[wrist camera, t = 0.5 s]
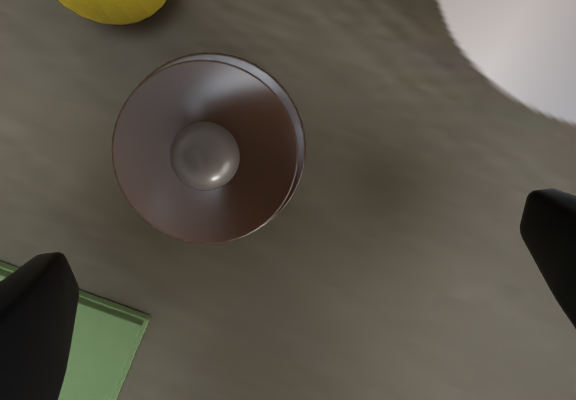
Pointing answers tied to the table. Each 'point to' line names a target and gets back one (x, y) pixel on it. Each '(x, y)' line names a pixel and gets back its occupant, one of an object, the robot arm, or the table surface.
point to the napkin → (98, 346)
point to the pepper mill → (208, 148)
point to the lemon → (114, 10)
